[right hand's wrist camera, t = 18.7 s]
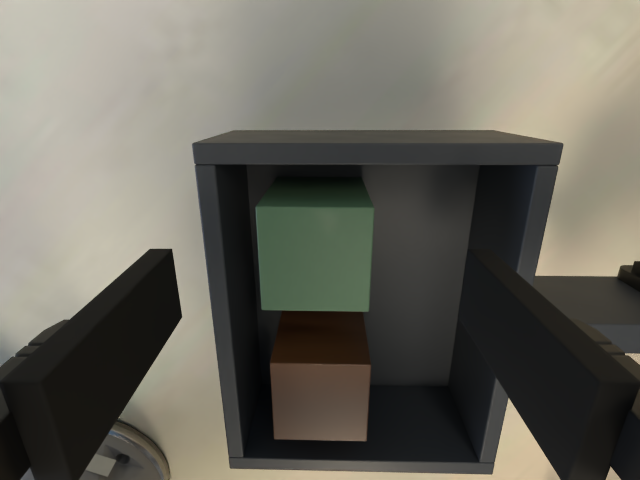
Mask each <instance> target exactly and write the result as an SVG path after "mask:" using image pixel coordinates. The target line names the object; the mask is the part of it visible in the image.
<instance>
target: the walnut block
mask: <svg viewBox="0 0 640 480" xmlns="http://www.w3.org/2000/svg"><path fill="white" fill-rule="evenodd" d="M270 376H271V394H272V412H273V430H274V439H289V440H333V441H367V430H368V413H369V396H370V378H371V360H370V354H369V347H368V341H367V334H366V328H365V321H364V315H363V312H356V311H289V310H282V313H281V317H280V322H279V326H278V330H277V334H276V339H275V343H274V347H273V352H272V356H271V360H270Z"/></svg>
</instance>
